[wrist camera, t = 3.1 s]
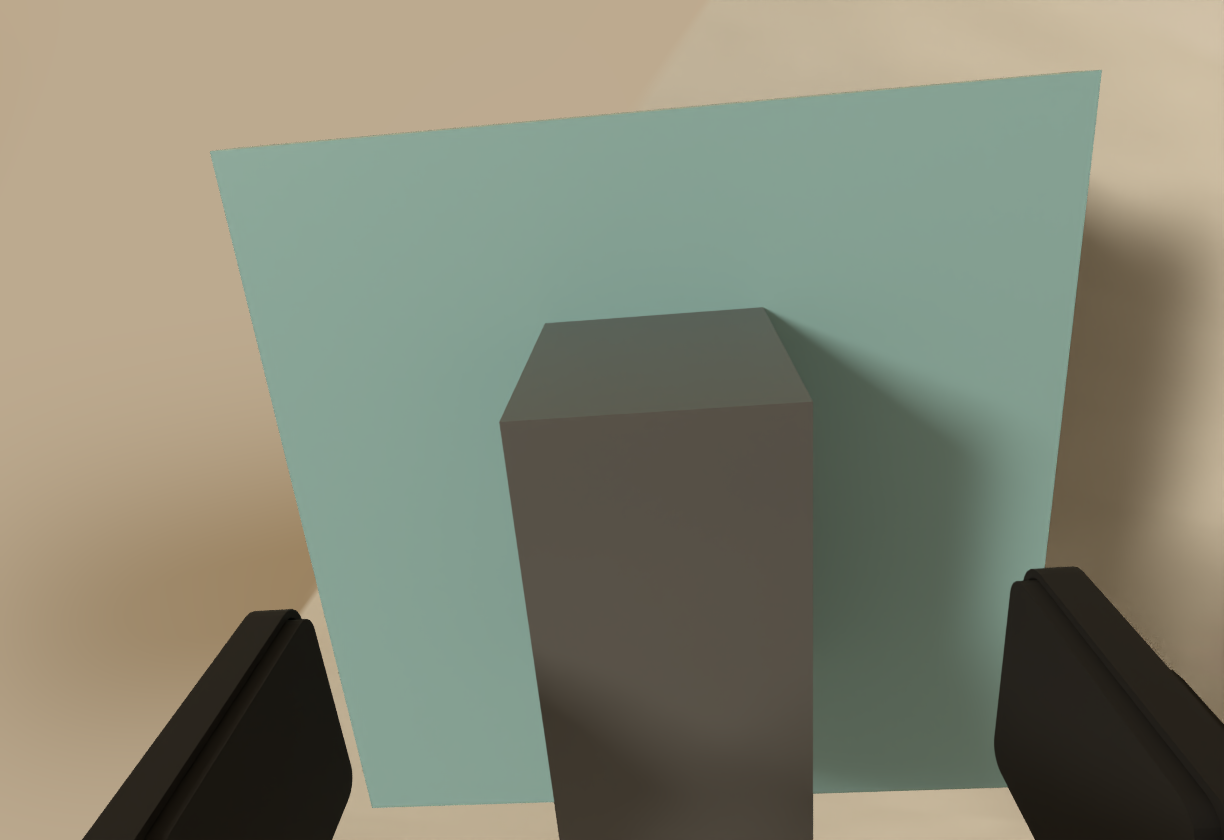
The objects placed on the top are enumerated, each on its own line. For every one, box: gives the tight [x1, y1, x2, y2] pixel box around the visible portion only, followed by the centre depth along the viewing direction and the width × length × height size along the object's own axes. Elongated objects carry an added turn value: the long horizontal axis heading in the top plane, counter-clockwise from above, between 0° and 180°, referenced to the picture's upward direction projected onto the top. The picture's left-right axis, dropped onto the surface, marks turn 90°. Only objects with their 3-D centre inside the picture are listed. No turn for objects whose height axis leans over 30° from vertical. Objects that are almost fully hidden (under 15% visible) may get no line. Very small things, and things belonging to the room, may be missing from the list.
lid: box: [210, 70, 1102, 840], centre depth 15 cm, size 15×15×7 cm
